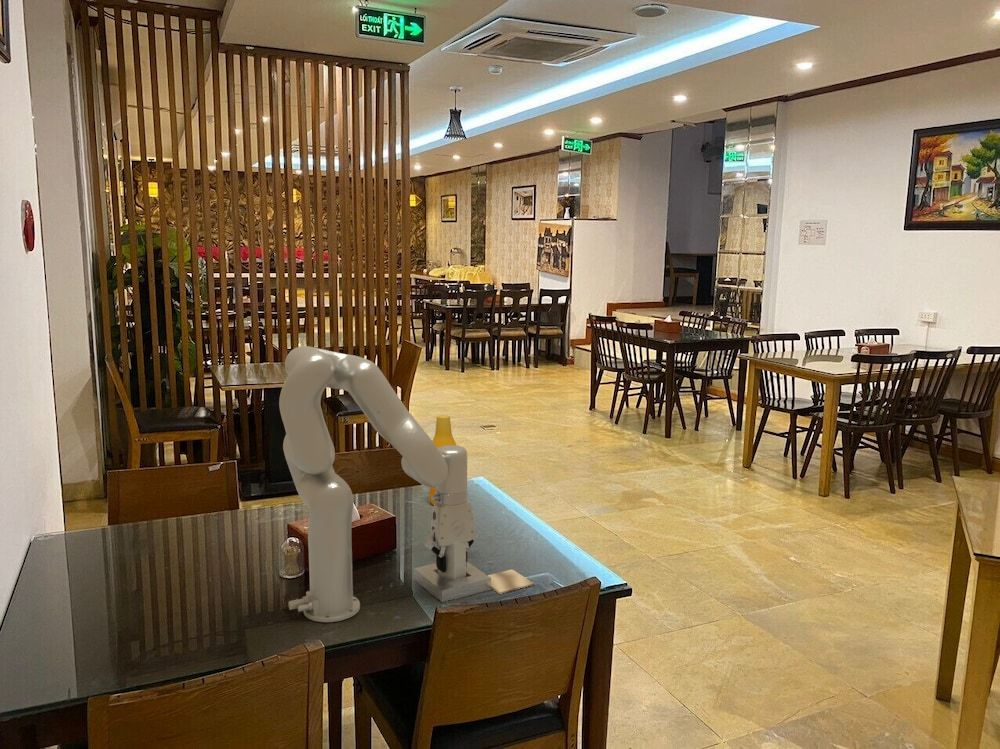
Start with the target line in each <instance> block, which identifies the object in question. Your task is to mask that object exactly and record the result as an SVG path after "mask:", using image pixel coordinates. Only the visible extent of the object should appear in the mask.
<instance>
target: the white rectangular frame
mask: <svg viewBox="0 0 1000 749" xmlns="http://www.w3.org/2000/svg"><path fill="white" fill-rule="evenodd" d="M488 575H489V574H488ZM488 575H487V573H485V572H483V571H482V570H480V569H479V568H477V567H476V566H475V565H473V564H471V563H470V562H469V561H467V567H466V577H465V578H461V579H457V580H453V581H449V582H448V581H446V580H445V579H444V578H442V577H441V576H440V575H438V568H437V566H436V562H435V563H431V564H426V565H422V566H417V567H413V580H414V581H415V582H416V583H417V584H418V585H420V586H421V587H422V586H423V587H424V588H423V587H422V588H423V589H424V590H426V591H427V592H428V593H430V594H431V595H432V596H433V595H434V596H433V597H434V598H436V599H437V600H438V599H439V600H440V602H441V603H444V602H443V601H446V602H449V601H448V600H450V601H453V599H454V600H457V599H461V598H464V597H468V596H472V595H476V594H480V593H483V592H487V591H491V590H492V589H491V577H489V576H488ZM439 600H438V601H439Z"/></svg>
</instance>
